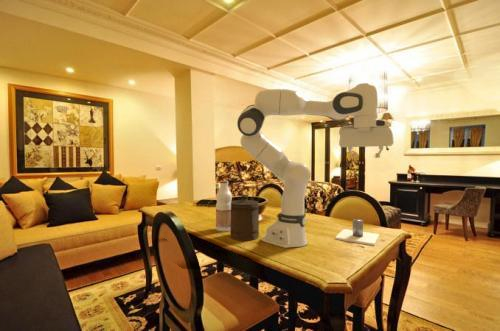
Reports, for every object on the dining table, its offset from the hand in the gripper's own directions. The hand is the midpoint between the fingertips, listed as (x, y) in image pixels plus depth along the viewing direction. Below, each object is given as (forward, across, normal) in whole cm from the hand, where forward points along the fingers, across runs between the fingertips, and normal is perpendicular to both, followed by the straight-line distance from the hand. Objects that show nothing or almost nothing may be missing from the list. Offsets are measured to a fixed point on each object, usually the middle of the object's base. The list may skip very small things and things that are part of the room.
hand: (365, 157), depth 103 cm
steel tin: (+40, -7, +26) cm, 48 cm away
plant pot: (+41, -44, +38) cm, 71 cm away
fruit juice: (+41, -74, -1) cm, 85 cm away
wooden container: (+41, -57, -5) cm, 71 cm away
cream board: (+41, -7, +26) cm, 49 cm away
